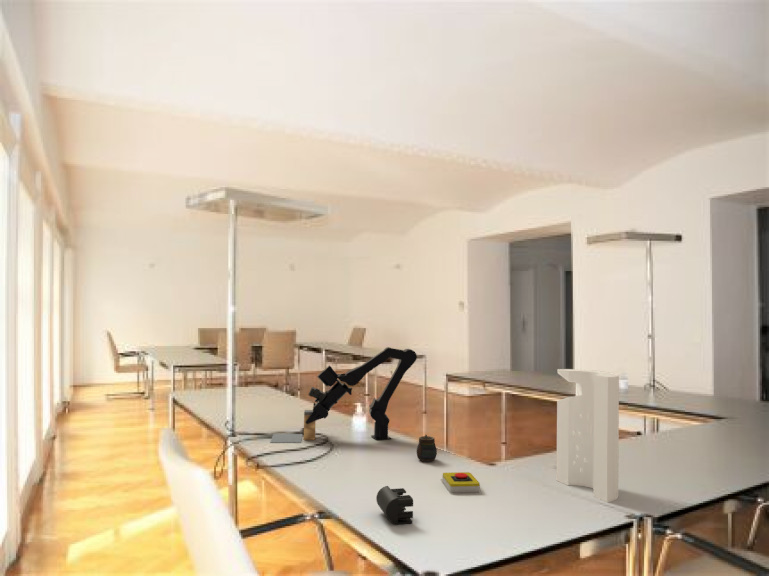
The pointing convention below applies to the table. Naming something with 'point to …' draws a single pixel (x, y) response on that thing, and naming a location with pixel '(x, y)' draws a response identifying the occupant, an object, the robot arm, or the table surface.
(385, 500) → the end cap
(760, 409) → the table surface
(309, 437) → the oak block
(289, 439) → the slate mat
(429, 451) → the dark lidded jar
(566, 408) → the white notched upright
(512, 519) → the table surface
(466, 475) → the emergency button
